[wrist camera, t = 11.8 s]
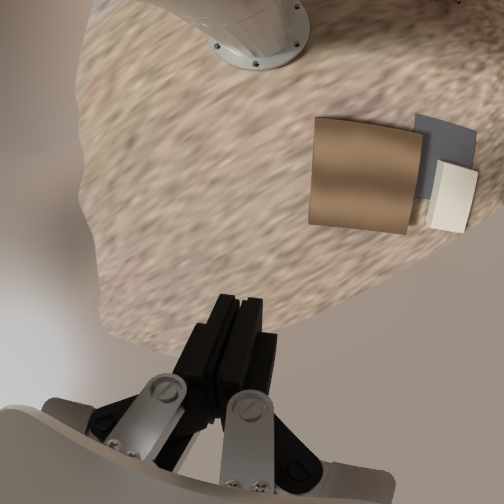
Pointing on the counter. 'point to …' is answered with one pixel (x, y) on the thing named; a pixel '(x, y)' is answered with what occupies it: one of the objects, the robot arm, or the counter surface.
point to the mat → (441, 149)
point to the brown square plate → (363, 176)
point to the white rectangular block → (451, 197)
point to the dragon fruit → (451, 0)
